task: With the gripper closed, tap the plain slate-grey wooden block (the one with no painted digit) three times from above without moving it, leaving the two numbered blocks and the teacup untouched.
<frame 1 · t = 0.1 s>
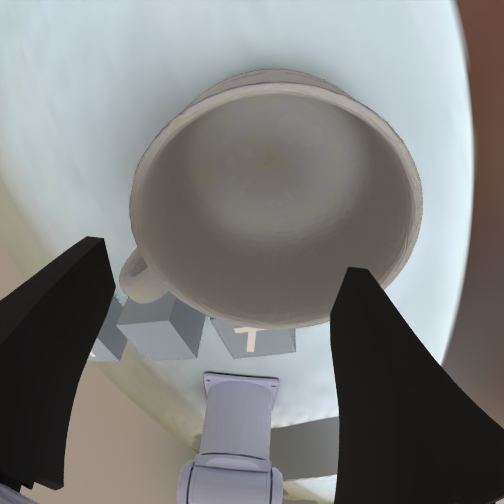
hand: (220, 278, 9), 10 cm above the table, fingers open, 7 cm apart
teacup: (251, 164, 18), on the table
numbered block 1: (103, 307, 27), on the table
plain block: (170, 298, 25), on the table
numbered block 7: (258, 288, 24), on the table
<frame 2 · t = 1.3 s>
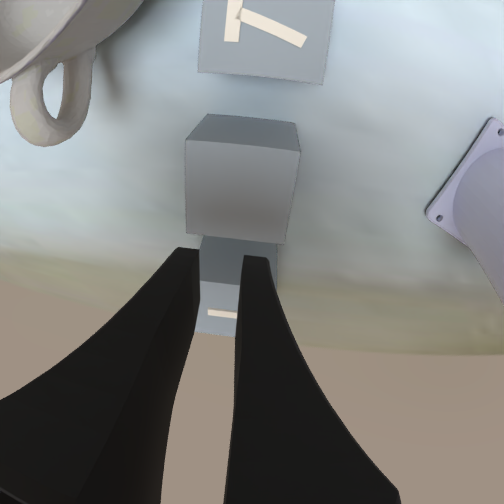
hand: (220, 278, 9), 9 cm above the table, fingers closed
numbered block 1: (238, 261, 21), on the table
plain block: (246, 156, 17), on the table
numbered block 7: (268, 25, 12), on the table
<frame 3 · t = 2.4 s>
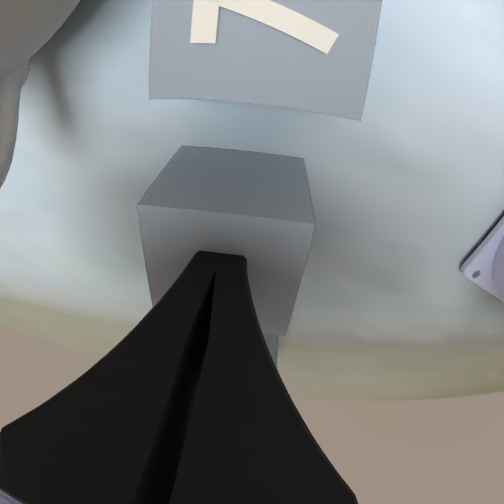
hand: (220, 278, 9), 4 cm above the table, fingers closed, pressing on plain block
plain block: (237, 202, 13), on the table, touching gripper
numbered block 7: (269, 17, 8), on the table
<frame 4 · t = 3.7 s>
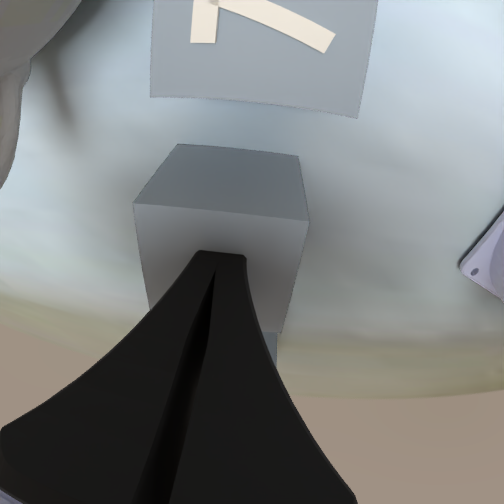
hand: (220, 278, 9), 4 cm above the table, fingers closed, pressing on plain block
plain block: (232, 200, 13), on the table, touching gripper
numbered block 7: (268, 17, 8), on the table
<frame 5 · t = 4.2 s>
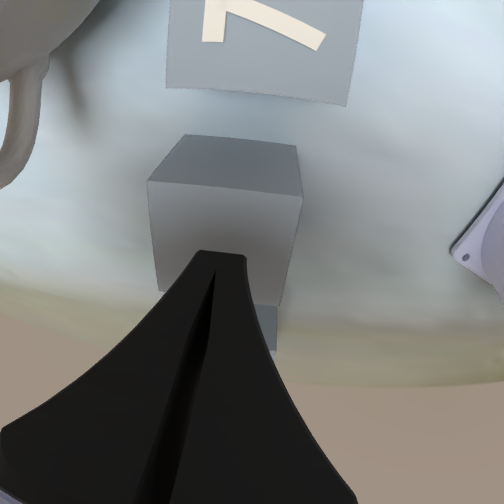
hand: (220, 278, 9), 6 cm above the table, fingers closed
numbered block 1: (233, 304, 18), on the table
plain block: (235, 186, 14), on the table
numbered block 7: (268, 19, 9), on the table
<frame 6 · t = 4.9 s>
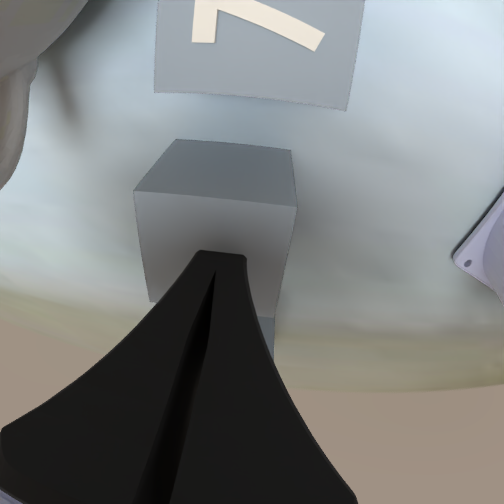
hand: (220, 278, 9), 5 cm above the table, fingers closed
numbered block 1: (230, 311, 18), on the table
plain block: (228, 192, 13), on the table
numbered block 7: (264, 18, 9), on the table
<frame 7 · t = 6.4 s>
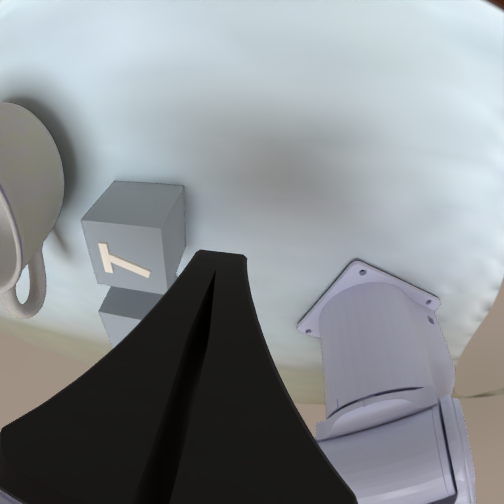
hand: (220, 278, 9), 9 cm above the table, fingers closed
teacup: (32, 177, 18), on the table
plain block: (152, 292, 24), on the table
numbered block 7: (150, 213, 19), on the table
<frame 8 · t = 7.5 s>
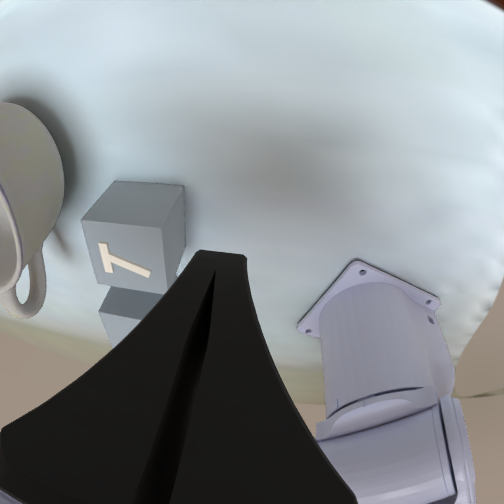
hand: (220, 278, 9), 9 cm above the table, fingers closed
teacup: (32, 177, 18), on the table
plain block: (152, 292, 24), on the table
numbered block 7: (150, 213, 19), on the table
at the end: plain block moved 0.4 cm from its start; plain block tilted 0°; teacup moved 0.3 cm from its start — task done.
